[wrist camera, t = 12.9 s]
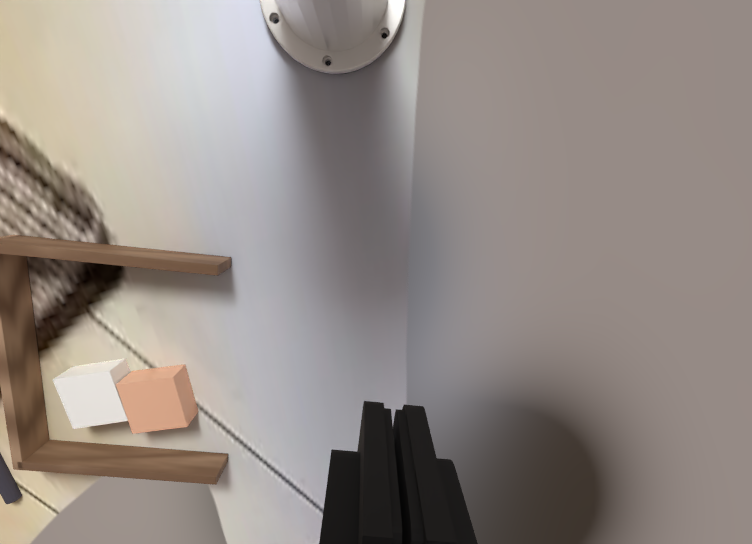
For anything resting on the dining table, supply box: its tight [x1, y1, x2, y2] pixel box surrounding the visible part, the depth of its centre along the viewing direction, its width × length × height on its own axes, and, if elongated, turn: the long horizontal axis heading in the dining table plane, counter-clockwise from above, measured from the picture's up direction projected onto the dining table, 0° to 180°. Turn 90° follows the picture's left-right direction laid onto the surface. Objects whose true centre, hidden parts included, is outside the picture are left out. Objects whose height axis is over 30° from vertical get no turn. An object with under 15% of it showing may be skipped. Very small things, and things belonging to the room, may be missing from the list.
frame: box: [0, 235, 231, 484], centre depth 39 cm, size 25×22×4 cm
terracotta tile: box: [116, 365, 198, 434], centre depth 41 cm, size 6×6×3 cm
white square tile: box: [53, 358, 131, 429], centre depth 41 cm, size 6×6×3 cm
